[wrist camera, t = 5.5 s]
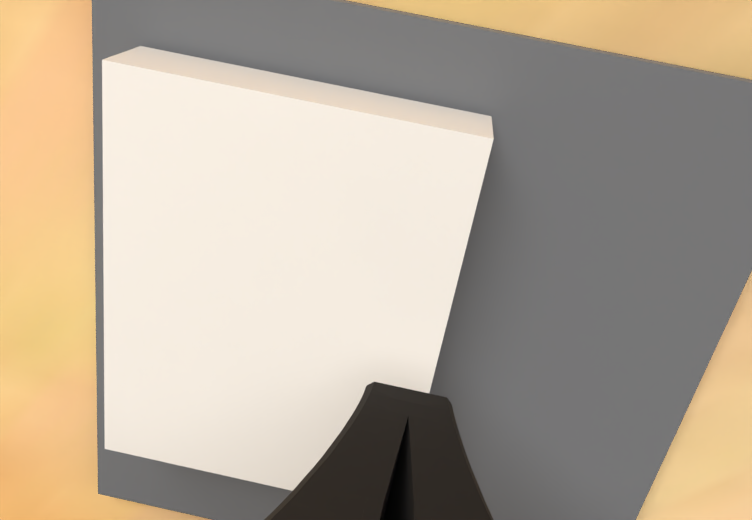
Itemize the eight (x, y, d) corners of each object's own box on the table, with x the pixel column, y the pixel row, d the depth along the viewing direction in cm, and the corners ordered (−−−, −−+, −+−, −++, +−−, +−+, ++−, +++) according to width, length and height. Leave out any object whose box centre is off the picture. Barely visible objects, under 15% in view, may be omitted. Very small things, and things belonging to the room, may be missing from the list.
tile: (398, 514, 16) (104, 448, 16) (405, 461, 18) (137, 402, 18) (493, 138, 12) (101, 59, 12) (490, 114, 14) (144, 44, 14)
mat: (592, 593, 19) (595, 606, 19) (105, 483, 20) (97, 493, 19) (822, 93, 13) (831, 98, 13) (101, -48, 14) (91, -47, 13)
